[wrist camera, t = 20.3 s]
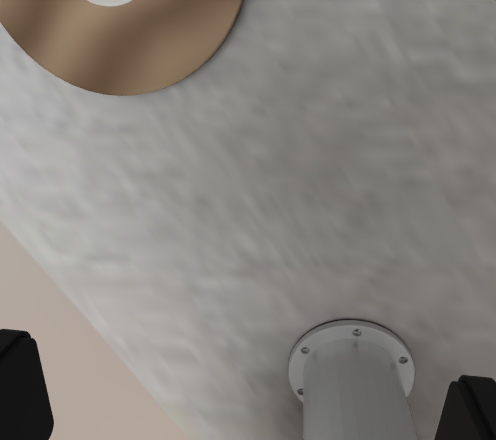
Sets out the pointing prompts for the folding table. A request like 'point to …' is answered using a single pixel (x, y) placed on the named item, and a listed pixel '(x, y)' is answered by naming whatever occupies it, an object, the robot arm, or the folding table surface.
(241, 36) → the folding table surface
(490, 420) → the robot arm
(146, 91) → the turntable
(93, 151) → the folding table surface
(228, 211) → the folding table surface
